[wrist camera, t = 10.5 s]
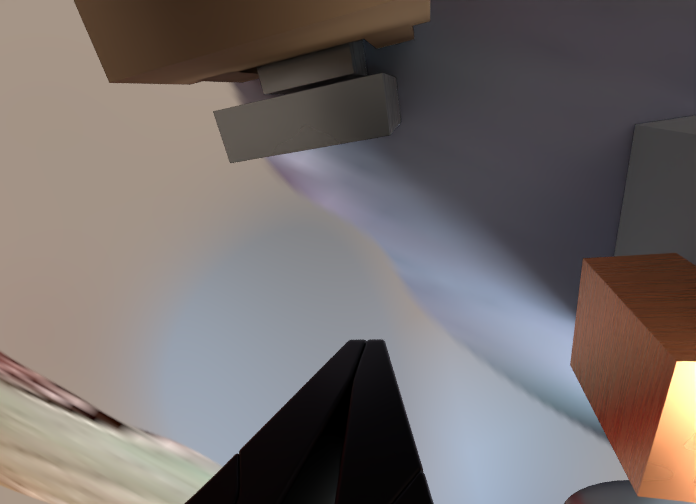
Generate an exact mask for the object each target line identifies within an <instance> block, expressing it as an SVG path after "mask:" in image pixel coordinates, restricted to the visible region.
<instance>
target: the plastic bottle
mask: <svg viewBox="0 0 696 504" xmlns="http://www.w3.org/2000/svg"><path fill="white" fill-rule="evenodd" d="M564 504H696V503H693V502H684V501H675V500H666V499H657V498H648V497H639V496H637V494H636V492H635V490H634V488H633V487H632V485H631V483H630V481H629V480H624V481H611V482H604V483H600V484H596V485H592V486H589V487H586V488H584V489H581V490H579V491H577V492H576V493H574V494H573V495H571V496H570V497H569V498H568V499H567V500H566V501H565V503H564Z"/></svg>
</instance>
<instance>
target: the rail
mask: <svg viewBox="0 0 696 504" xmlns="http://www.w3.org/2000/svg"><path fill="white" fill-rule="evenodd" d="M257 71H258V74H259V78H260V82H261V86H262V90H263V93H264V94H287V95H283V96H279V97H274V98H270V99H266V100H261V101H257V102H253V103H248V104H244V105H239V106H235V107H231V108H227V109H222V110H218V111H213V113H214V116H215V119H216V122H217V125H218V128H219V131H220V134H221V137H222V140H223V143H224V146H225V149H226V152H227V155H228V158H229V161H230V163H234V162H240V161H246V160H251V159H257V158H263V157H269V156H275V155H280V154H286V153H292V152H297V151H303V150H309V149H315V148H320V147H326V146H332V145H338V144H343V143H349V142H355V141H361V140H366V139H372V138H378V137H384V136H389V135H391V134H392V132H393V131H394V130H395V129H396V128H397V127H398V126H399V124H400V123H401V115H400V107H399V98H398V89H397V80H396V78H395V77H392V76H390V75H387V74H384V73H379V74H374V75H370V76H368V74H367V67H366V60H365V53H364V46H363V39H361V40H357V41H353V42H349V43H346V44H342V45H338V46H334V47H331V48H327V49H323V50H319V51H315V52H312V53H308V54H304V55H300V56H296V57H293V58H289V59H285V60H281V61H277V62H274V63H270V64H266V65H262V66H258V67H257Z"/></svg>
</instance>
